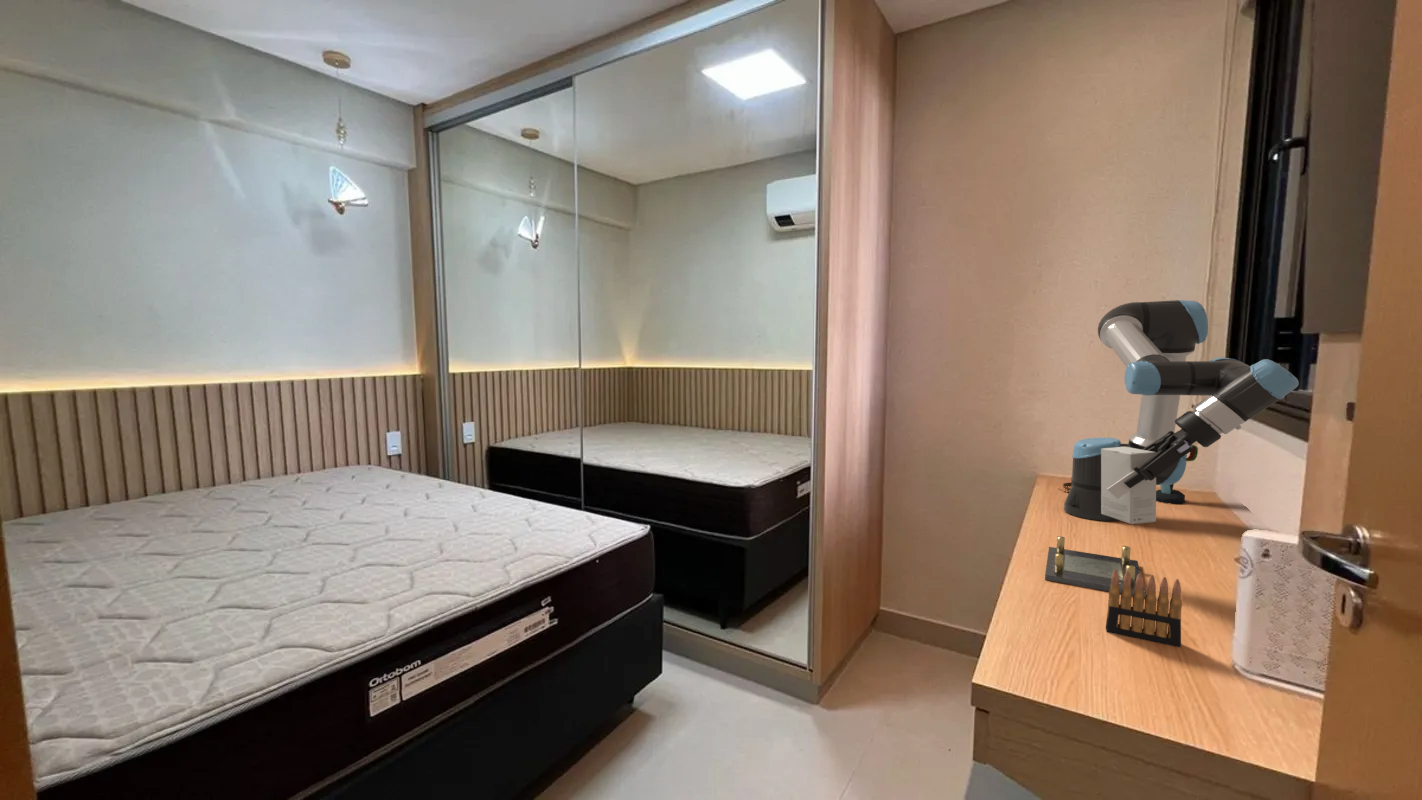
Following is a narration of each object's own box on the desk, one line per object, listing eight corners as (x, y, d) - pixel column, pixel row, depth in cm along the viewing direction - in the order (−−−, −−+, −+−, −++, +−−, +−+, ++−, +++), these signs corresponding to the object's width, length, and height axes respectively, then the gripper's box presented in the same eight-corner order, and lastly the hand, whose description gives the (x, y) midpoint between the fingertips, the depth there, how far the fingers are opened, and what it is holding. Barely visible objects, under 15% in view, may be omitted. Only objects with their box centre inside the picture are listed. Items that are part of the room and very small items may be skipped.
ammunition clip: (1179, 642, 99) (1183, 578, 98) (1180, 647, 97) (1185, 582, 96) (1105, 627, 104) (1108, 566, 103) (1106, 632, 103) (1109, 570, 102)
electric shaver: (1143, 496, 188) (1146, 438, 186) (1181, 496, 187) (1185, 438, 185) (1161, 504, 179) (1165, 443, 177) (1201, 504, 178) (1206, 443, 176)
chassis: (1048, 551, 142) (1049, 531, 141) (1137, 565, 132) (1138, 544, 131) (1044, 579, 125) (1045, 557, 125) (1145, 598, 115) (1146, 574, 115)
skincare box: (1156, 523, 120) (1160, 452, 118) (1128, 525, 119) (1131, 454, 118) (1123, 511, 128) (1126, 445, 127) (1097, 513, 128) (1100, 446, 126)
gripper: (1238, 445, 104) (1129, 515, 114) (1210, 427, 123) (1119, 489, 133) (1202, 416, 107) (1099, 487, 117) (1181, 403, 125) (1093, 465, 135)
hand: (1110, 488), depth 125 cm, fingers closed on skincare box, 10 cm apart
